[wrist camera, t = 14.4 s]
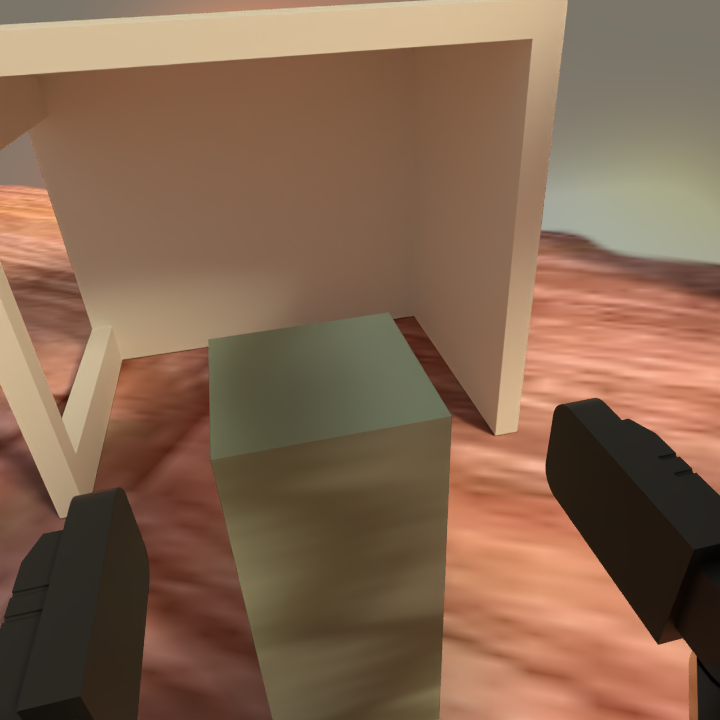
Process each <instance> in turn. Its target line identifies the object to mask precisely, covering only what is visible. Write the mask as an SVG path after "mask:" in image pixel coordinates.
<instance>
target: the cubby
mask: <svg viewBox="0 0 720 720" xmlns="http://www.w3.org/2000/svg"><path fill="white" fill-rule="evenodd" d="M567 4H568V0H424V1H407V2H389V3H372V4H355V5H338V6H322V7H321V6H320V7H302V8H285V9H270V10H269V9H268V10H250V11H233V12H215V13H198V14H180V15H165V16H164V15H163V16H145V17H128V18H112V19H93V20H77V21H60V22H41V23H25V24H7V25H0V150H2V149H3V148H5V147H6V146H7V145H9V144H10V143H11V142H13V141H14V140H16V139H17V138H18V137H20V136H21V135H23V134H24V133H25V132H27V131H28V133H29V136H30V139H31V142H32V145H33V148H34V152H35V154H36V158H37V161H38V164H39V167H40V170H41V173H42V176H43V179H44V182H45V185H46V188H47V191H48V195H49V198H50V201H51V204H52V207H53V210H54V213H55V216H56V219H57V222H58V225H59V228H60V231H61V235H62V238H63V241H64V244H65V247H66V250H67V253H68V256H69V259H70V262H71V265H72V268H73V271H74V274H75V278H76V281H77V284H78V287H79V290H80V293H81V296H82V299H83V302H84V305H85V308H86V311H87V314H88V317H89V321H90V324H91V327H92V331H91V334H90V337H89V340H88V343H87V346H86V349H85V352H84V355H83V358H82V361H81V364H80V367H79V370H78V372H77V375H76V378H75V381H74V384H73V387H72V390H71V393H70V396H69V399H68V402H67V405H66V408H65V411H64V414H63V417H62V418H61V415H60V413H59V410H58V408H57V405H56V403H55V400H54V398H53V395H52V392H51V390H50V387H49V385H48V382H47V380H46V377H45V375H44V372H43V369H42V367H41V364H40V362H39V359H38V357H37V354H36V352H35V349H34V347H33V344H32V341H31V339H30V336H29V334H28V331H27V329H26V326H25V324H24V321H23V318H22V316H21V313H20V311H19V308H18V306H17V303H16V301H15V298H14V296H13V293H12V290H11V288H10V285H9V283H8V280H7V278H6V275H5V273H4V270H3V267H2V265H1V262H0V384H1V387H2V389H3V391H4V393H5V396H6V398H7V400H8V402H9V405H10V407H11V409H12V411H13V414H14V416H15V418H16V421H17V423H18V425H19V427H20V430H21V432H22V434H23V436H24V439H25V441H26V443H27V445H28V448H29V450H30V452H31V454H32V457H33V459H34V461H35V463H36V466H37V468H38V470H39V472H40V475H41V477H42V479H43V481H44V484H45V486H46V488H47V490H48V493H49V495H50V497H51V499H52V502H53V504H54V506H55V508H56V511H57V513H58V515H59V517H60V518H65V517H67V513H68V509H69V506H70V502H71V500H72V498H73V497H74V496H77V495H83V494H88V493H92V491H93V487H94V483H95V478H96V474H97V469H98V465H99V460H100V456H101V452H102V447H103V443H104V438H105V434H106V430H107V425H108V421H109V416H110V412H111V407H112V403H113V399H114V394H115V390H116V385H117V381H118V376H119V372H120V368H121V363H122V360H124V359H130V358H137V357H144V356H150V355H157V354H164V353H170V352H177V351H184V350H190V349H197V348H204V347H208V339H214V338H221V337H227V336H234V335H241V334H247V333H254V332H261V331H268V330H274V329H281V328H288V327H294V326H301V325H308V324H314V323H321V322H328V321H335V320H341V319H348V318H355V317H361V316H368V315H375V314H381V313H388V312H389V313H390V315H391V317H392V318H393V319H397V318H403V317H410V316H414V317H415V318H416V320H417V321H418V323H419V324H420V326H421V327H422V329H423V330H424V332H425V333H426V334H427V336H428V337H429V339H430V340H431V342H432V343H433V345H434V346H435V348H436V349H437V351H438V352H439V354H440V355H441V357H442V358H443V359H444V361H445V362H446V364H447V365H448V367H449V368H450V370H451V371H452V373H453V374H454V376H455V377H456V379H457V380H458V381H459V383H460V384H461V386H462V387H463V389H464V390H465V392H466V393H467V395H468V396H469V398H470V399H471V401H472V402H473V404H474V405H475V406H476V408H477V409H478V411H479V412H480V414H481V415H482V417H483V418H484V420H485V421H486V423H487V424H488V426H489V427H490V429H491V430H492V431H493V433H494V434H495V436H496V435H501V434H506V433H512V432H517V427H518V418H519V410H520V402H521V393H522V385H523V376H524V368H525V359H526V351H527V342H528V334H529V325H530V317H531V309H532V300H533V292H534V283H535V275H536V266H537V258H538V249H539V241H540V232H541V224H542V215H543V207H544V198H545V190H546V181H547V173H548V165H549V155H550V148H551V139H552V131H553V122H554V114H555V105H556V96H557V89H558V79H559V72H560V63H561V55H562V46H563V37H564V29H565V21H566V12H567Z"/></svg>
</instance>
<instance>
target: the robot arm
mask: <svg viewBox="0 0 720 720" xmlns="http://www.w3.org/2000/svg"><path fill="white" fill-rule="evenodd" d="M546 476H547V480H548V484H549V487H550V489H551V491H552V493H553V495H554V497H555V498H556V499H557V501H558V502H559V504H560V505H561V507H562V508H563V509H564V511H565V512H566V514H567V515H568V517H569V518H570V520H571V521H572V522H573V524H574V525H575V527H576V528H577V530H578V531H579V532H580V534H581V535H582V537H583V538H584V540H585V541H586V542H587V544H588V545H589V547H590V548H591V550H592V551H593V552H594V554H595V555H596V557H597V558H598V560H599V561H600V562H601V564H602V565H603V567H604V568H605V570H606V571H607V572H608V574H609V575H610V577H611V578H612V580H613V581H614V582H615V584H616V585H617V587H618V588H619V590H620V591H621V592H622V594H623V595H624V597H625V598H626V600H627V601H628V602H629V604H630V605H631V607H632V608H633V610H634V611H635V612H636V614H637V615H638V617H639V618H640V620H641V621H642V622H643V624H644V625H645V627H646V628H647V630H648V631H649V632H650V634H651V635H652V637H653V638H654V640H655V641H656V642H657V644H658V645H659V644H663V643H667V642H670V641H674V640H678V639H681V638H683V639H684V640H685V641H686V643H687V644H688V645H689V647H690V648H691V649H692V653H691V655H690V658H689V720H720V495H719V494H718V493H717V492H716V491H715V490H713V489H712V488H711V487H710V486H709V485H708V484H707V483H706V482H705V481H704V480H703V479H702V478H701V477H700V476H699V475H698V474H697V473H693V472H692V468H691V467H690V466H689V465H688V464H687V463H686V462H685V461H684V460H683V459H682V458H681V457H677V456H676V453H675V452H674V451H673V450H672V449H671V448H670V447H669V446H668V445H667V444H666V443H665V442H664V441H663V440H662V439H661V438H660V437H659V436H658V435H657V434H656V433H654V432H652V431H650V430H649V429H647V428H645V427H643V426H641V425H639V424H638V423H636V422H634V421H632V420H630V419H625V420H621V419H620V418H619V417H618V416H617V415H616V414H615V413H614V412H613V411H612V410H611V409H610V408H609V407H608V406H607V405H606V404H605V403H604V402H603V401H602V400H600V399H598V398H592V399H587V400H582V401H576V402H571V403H566V404H561V405H558V406H557V407H556V408H555V411H554V414H553V420H552V427H551V433H550V439H549V446H548V452H547V458H546ZM148 591H149V563H148V556H147V551H146V548H145V544H144V542H143V539H142V536H141V534H140V531H139V528H138V526H137V523H136V520H135V518H134V515H133V512H132V510H131V507H130V504H129V502H128V499H127V496H126V494H125V492H124V490H123V489H122V488H114V489H109V490H103V491H98V492H93V493H88V494H83V495H77V496H74V497H73V498H72V500H71V502H70V506H69V509H68V513H67V517H66V521H65V525H64V529H63V530H61V531H56V532H51V533H46V534H43V535H42V536H41V537H40V539H39V540H38V541H37V543H36V544H35V545H34V547H33V548H32V549H31V551H30V552H29V553H28V554H27V556H26V557H25V558H24V560H23V561H22V562H21V566H20V569H19V572H18V575H17V578H16V581H15V584H14V588H13V591H12V593H13V597H12V598H10V600H9V603H8V607H7V610H6V613H5V616H4V618H5V623H3V624H2V626H1V629H0V720H137V714H138V703H139V692H140V681H141V669H142V658H143V647H144V636H145V625H146V613H147V602H148Z"/></svg>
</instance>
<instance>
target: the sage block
mask: <svg viewBox="0 0 720 720" xmlns="http://www.w3.org/2000/svg"><path fill="white" fill-rule="evenodd" d="M208 347H209V405H210V460H211V464H212V469H213V473H214V477H215V481H216V485H217V490H218V494H219V498H220V502H221V506H222V510H223V515H224V519H225V523H226V527H227V531H228V536H229V540H230V544H231V548H232V552H233V557H234V561H235V565H236V569H237V573H238V577H239V582H240V586H241V590H242V594H243V598H244V603H245V607H246V611H247V615H248V619H249V624H250V628H251V632H252V636H253V640H254V644H255V649H256V653H257V657H258V661H259V665H260V670H261V674H262V678H263V682H264V686H265V691H266V695H267V699H268V703H269V707H270V711H271V716H272V720H435V719H438V718H439V709H440V685H441V661H442V637H443V614H444V590H445V566H446V542H447V518H448V494H449V470H450V447H451V423H452V415H451V414H450V412H449V410H448V409H447V407H446V406H445V404H444V402H443V401H442V399H441V397H440V396H439V394H438V392H437V391H436V389H435V387H434V386H433V384H432V382H431V381H430V379H429V377H428V376H427V374H426V373H425V371H424V369H423V368H422V366H421V364H420V363H419V361H418V359H417V358H416V356H415V354H414V353H413V351H412V349H411V348H410V346H409V345H408V343H407V341H406V340H405V338H404V336H403V335H402V333H401V331H400V330H399V328H398V326H397V325H396V323H395V321H394V320H393V318H392V317H391V315H390V313H389V312H388V313H381V314H375V315H368V316H361V317H355V318H348V319H341V320H335V321H328V322H321V323H314V324H308V325H301V326H294V327H288V328H281V329H274V330H268V331H261V332H254V333H247V334H241V335H234V336H227V337H221V338H214V339H208Z"/></svg>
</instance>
